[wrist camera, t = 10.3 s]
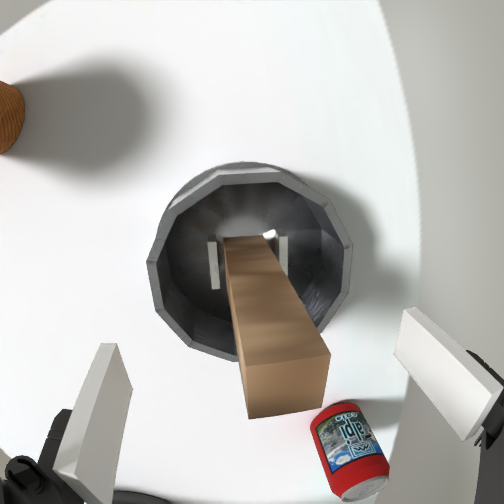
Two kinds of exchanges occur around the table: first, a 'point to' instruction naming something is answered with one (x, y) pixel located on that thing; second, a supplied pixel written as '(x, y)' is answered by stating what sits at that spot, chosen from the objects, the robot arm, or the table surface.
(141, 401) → the table surface
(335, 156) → the table surface
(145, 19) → the table surface
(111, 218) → the table surface
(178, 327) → the tin
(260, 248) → the long wooden beam
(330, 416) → the beverage can
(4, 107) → the disposable coffee cup
